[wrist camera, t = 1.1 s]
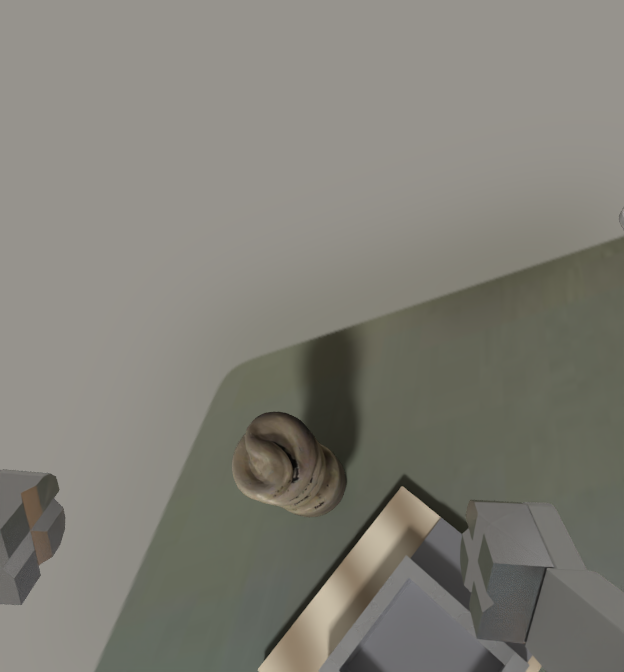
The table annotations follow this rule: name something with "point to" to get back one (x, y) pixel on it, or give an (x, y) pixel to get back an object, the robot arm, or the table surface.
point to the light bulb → (287, 466)
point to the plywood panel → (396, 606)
